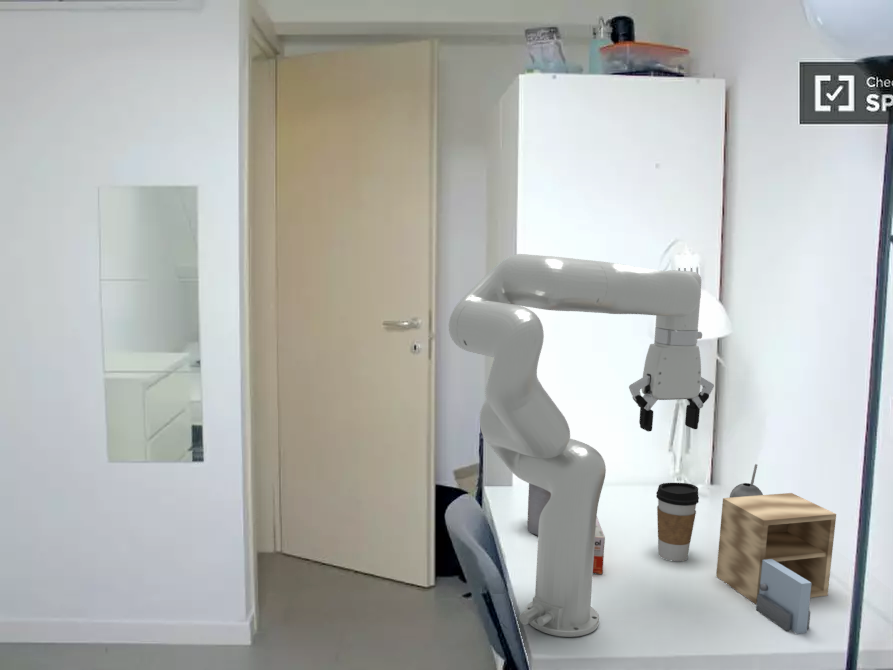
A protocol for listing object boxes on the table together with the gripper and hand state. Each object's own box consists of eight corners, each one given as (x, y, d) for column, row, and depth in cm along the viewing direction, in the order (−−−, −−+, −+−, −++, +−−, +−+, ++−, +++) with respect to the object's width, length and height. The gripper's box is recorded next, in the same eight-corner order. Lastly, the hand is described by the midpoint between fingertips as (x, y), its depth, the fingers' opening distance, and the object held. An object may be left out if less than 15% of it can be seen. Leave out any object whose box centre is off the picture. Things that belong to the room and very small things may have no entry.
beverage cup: (727, 546, 176) (735, 456, 173) (763, 554, 172) (771, 462, 170) (719, 557, 170) (728, 464, 167) (756, 566, 166) (765, 471, 163)
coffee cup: (695, 566, 165) (701, 494, 163) (652, 561, 167) (658, 490, 164) (692, 550, 173) (697, 482, 171) (651, 545, 175) (656, 478, 173)
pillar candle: (569, 523, 186) (572, 459, 184) (571, 540, 176) (574, 472, 174) (526, 521, 187) (529, 457, 185) (526, 537, 177) (529, 470, 175)
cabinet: (827, 595, 154) (836, 514, 152) (755, 604, 149) (763, 520, 147) (784, 569, 165) (791, 492, 163) (716, 576, 160) (722, 498, 158)
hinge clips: (808, 628, 141) (810, 612, 140) (786, 631, 139) (788, 614, 139) (777, 607, 148) (779, 591, 148) (756, 609, 147) (757, 594, 147)
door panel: (806, 632, 139) (811, 582, 138) (792, 634, 139) (797, 584, 137) (767, 605, 149) (771, 558, 148) (754, 607, 148) (758, 560, 147)
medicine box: (603, 576, 159) (606, 536, 158) (561, 574, 159) (563, 534, 158) (592, 545, 174) (594, 509, 173) (554, 543, 174) (556, 507, 173)
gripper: (704, 334, 156) (697, 421, 159) (623, 335, 151) (617, 425, 154) (728, 340, 149) (720, 431, 152) (644, 341, 144) (638, 435, 147)
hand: (668, 428), depth 153 cm, fingers open, 9 cm apart
